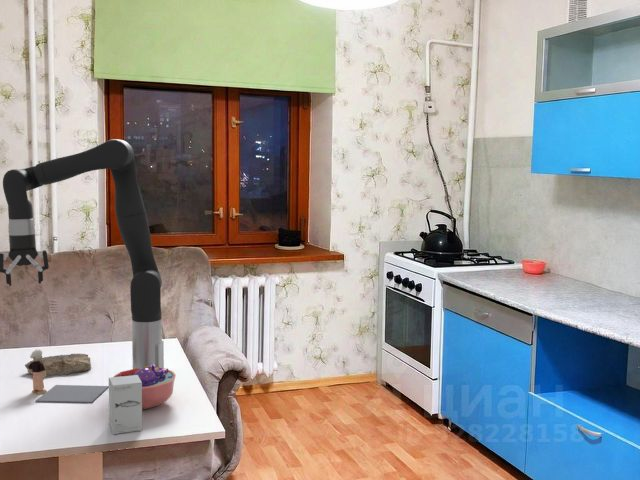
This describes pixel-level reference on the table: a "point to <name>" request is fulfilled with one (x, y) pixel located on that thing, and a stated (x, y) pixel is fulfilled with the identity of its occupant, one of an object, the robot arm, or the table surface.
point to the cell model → (153, 384)
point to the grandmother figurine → (37, 372)
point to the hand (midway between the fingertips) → (25, 284)
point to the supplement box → (125, 404)
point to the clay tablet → (64, 364)
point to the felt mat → (72, 394)
